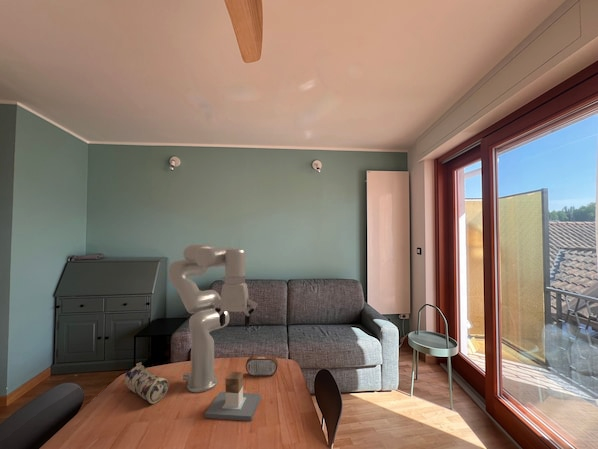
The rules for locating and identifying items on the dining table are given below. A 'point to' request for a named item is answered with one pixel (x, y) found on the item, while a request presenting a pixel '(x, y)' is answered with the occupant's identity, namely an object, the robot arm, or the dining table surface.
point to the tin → (261, 365)
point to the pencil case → (146, 384)
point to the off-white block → (234, 399)
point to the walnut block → (234, 382)
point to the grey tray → (234, 413)
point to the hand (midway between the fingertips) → (234, 325)
